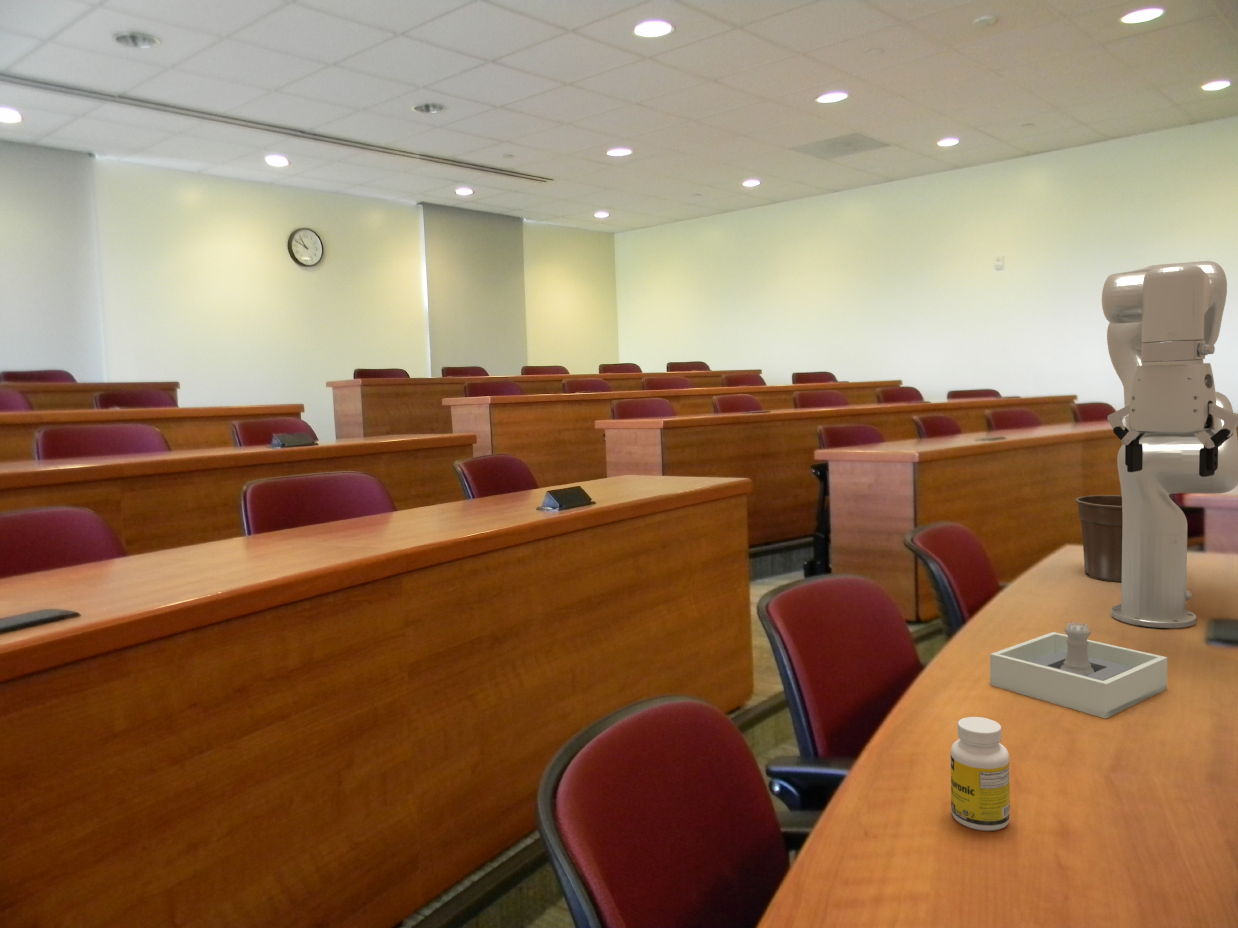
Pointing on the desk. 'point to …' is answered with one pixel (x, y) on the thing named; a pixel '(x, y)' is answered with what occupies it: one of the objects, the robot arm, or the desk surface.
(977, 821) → the supplement bottle
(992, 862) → the desk surface
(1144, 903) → the desk surface
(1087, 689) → the box
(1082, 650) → the rook chess piece
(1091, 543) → the plant pot
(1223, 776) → the desk surface
